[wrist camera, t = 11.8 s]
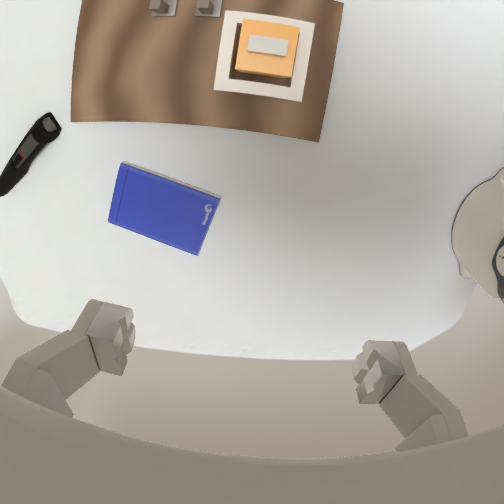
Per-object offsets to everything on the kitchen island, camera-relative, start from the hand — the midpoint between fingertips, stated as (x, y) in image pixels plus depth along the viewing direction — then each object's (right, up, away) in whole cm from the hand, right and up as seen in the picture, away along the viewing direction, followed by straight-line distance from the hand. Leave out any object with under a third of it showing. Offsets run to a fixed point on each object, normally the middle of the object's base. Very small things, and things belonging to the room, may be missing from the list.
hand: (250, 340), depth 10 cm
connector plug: (+1, +22, +16) cm, 27 cm away
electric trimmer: (-30, +16, +22) cm, 40 cm away
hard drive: (-11, +9, +26) cm, 30 cm away
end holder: (+1, +22, +15) cm, 27 cm away
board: (-6, +23, +16) cm, 29 cm away
